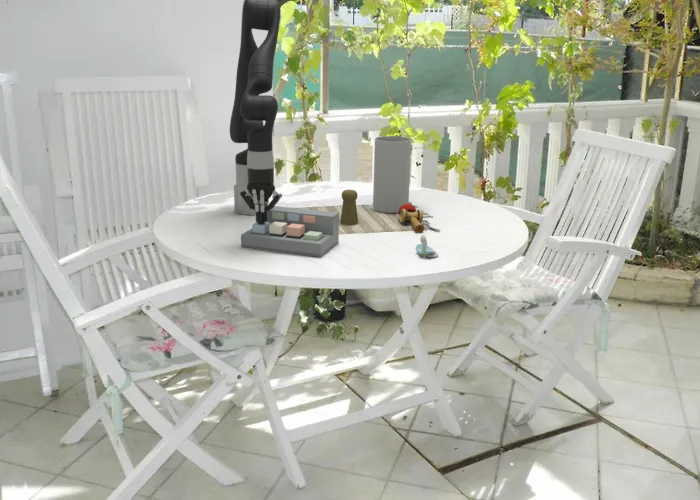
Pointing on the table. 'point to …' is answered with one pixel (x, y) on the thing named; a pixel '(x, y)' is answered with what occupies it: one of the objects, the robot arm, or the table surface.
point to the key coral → (295, 231)
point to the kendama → (411, 216)
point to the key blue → (260, 228)
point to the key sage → (313, 236)
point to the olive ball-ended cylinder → (349, 208)
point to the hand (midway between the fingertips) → (261, 223)
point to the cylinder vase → (391, 173)
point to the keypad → (312, 222)
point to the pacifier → (425, 248)
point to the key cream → (278, 229)
